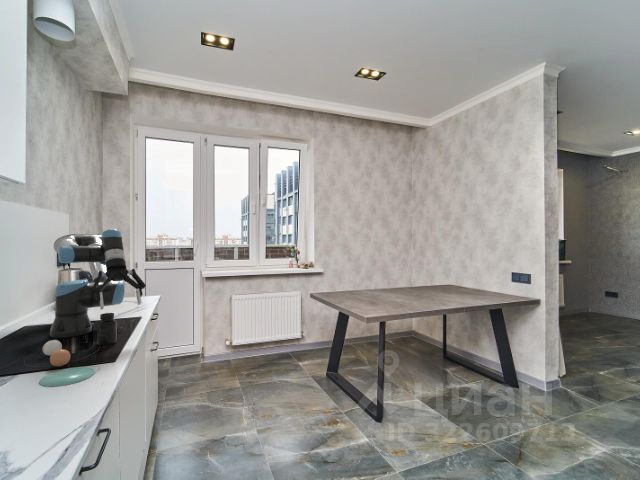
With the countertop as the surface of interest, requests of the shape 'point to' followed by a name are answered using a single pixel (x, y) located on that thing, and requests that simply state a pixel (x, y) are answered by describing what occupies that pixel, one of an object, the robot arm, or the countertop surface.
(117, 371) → the countertop surface
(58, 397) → the countertop surface
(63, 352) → the object ball
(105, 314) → the supplement bottle
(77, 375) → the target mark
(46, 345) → the cue ball
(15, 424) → the countertop surface
